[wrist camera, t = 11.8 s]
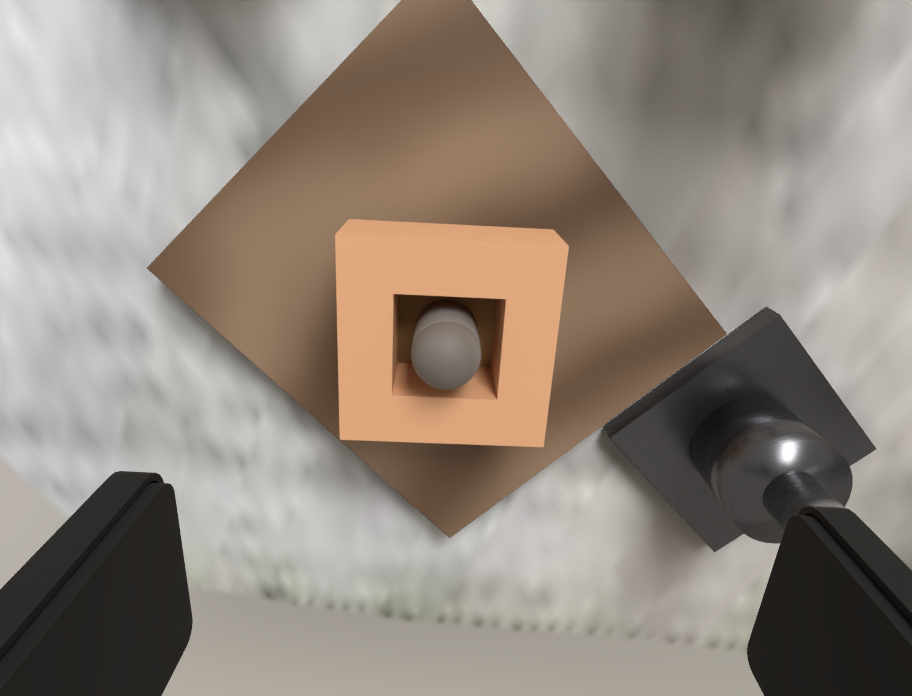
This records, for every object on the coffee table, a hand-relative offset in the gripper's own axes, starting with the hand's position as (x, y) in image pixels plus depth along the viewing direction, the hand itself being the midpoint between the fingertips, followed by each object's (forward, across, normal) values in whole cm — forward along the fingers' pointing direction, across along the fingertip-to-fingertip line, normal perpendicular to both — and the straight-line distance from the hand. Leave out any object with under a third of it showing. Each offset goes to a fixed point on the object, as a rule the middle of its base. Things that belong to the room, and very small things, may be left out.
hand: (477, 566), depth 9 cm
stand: (+15, -12, +6) cm, 20 cm away
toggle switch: (+15, +1, 0) cm, 15 cm away
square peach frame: (+11, +1, 0) cm, 11 cm away
